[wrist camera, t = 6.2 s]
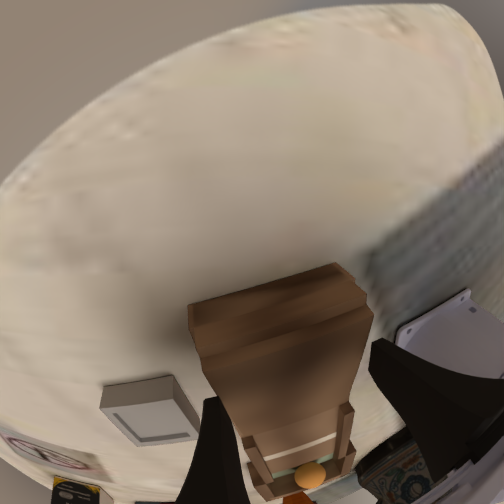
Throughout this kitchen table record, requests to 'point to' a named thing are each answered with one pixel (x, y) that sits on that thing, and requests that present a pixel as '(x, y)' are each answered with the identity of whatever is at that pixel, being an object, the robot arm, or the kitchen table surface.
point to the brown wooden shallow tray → (287, 370)
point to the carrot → (297, 499)
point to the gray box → (151, 412)
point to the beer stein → (397, 471)
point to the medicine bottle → (77, 493)
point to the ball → (310, 475)
